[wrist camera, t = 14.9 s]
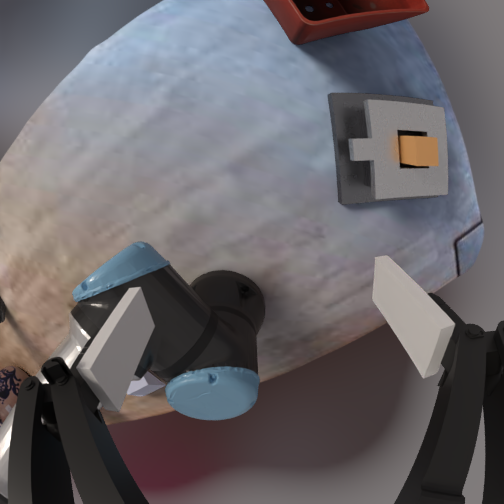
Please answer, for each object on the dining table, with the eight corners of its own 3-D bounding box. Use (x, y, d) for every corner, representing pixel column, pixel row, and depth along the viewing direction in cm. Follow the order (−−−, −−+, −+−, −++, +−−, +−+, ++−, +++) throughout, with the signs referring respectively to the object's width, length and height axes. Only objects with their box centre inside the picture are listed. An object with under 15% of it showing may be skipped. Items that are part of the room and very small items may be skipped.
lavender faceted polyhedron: (140, 352, 56) (113, 370, 59) (132, 372, 49) (104, 388, 52) (169, 375, 58) (139, 390, 61) (163, 395, 52) (132, 409, 55)
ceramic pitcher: (32, 368, 62) (-1, 418, 38) (51, 404, 69) (28, 450, 46) (2, 352, 60) (-30, 395, 37) (21, 388, 68) (-3, 429, 45)
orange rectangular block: (403, 159, 39) (438, 166, 29) (383, 159, 39) (417, 165, 29) (402, 136, 37) (437, 137, 28) (382, 135, 37) (415, 136, 28)
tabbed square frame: (431, 194, 43) (459, 205, 35) (338, 201, 43) (356, 215, 36) (426, 101, 36) (454, 98, 28) (327, 94, 37) (345, 84, 29)
